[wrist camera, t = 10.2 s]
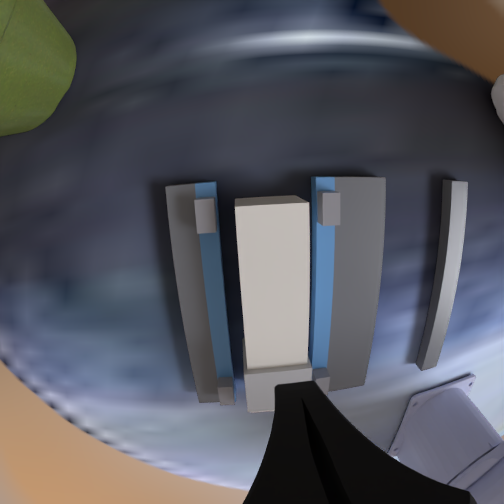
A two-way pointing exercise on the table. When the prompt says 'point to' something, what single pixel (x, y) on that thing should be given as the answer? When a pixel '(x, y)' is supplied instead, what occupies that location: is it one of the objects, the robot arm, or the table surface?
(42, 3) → the plant pot
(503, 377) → the table surface
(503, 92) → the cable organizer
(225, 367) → the board
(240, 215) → the tall beige pillar
